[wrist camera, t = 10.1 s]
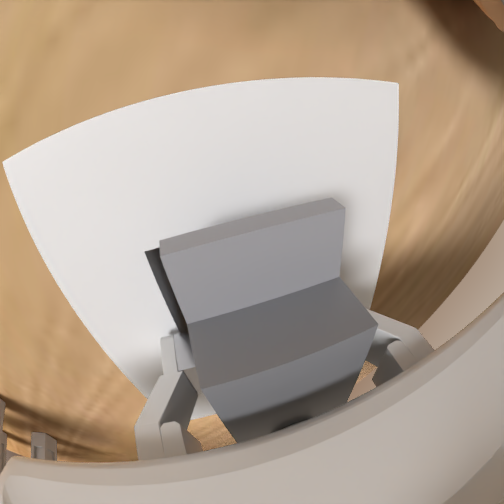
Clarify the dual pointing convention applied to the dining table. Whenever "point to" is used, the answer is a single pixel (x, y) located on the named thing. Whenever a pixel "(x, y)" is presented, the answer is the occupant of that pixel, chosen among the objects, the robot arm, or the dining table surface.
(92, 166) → the white u-shaped block
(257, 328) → the servo
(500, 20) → the desk lamp
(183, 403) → the robot arm
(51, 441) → the stool
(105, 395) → the dining table surface
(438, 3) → the dining table surface
